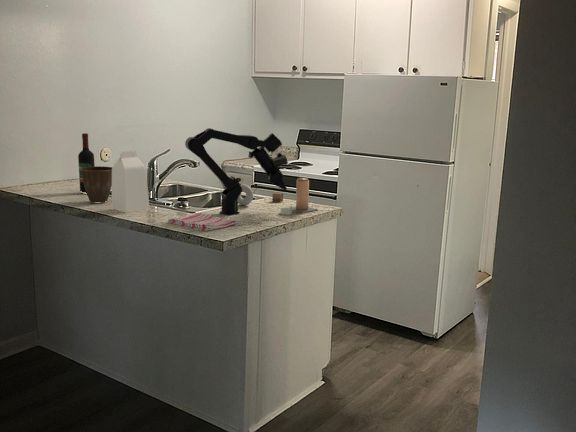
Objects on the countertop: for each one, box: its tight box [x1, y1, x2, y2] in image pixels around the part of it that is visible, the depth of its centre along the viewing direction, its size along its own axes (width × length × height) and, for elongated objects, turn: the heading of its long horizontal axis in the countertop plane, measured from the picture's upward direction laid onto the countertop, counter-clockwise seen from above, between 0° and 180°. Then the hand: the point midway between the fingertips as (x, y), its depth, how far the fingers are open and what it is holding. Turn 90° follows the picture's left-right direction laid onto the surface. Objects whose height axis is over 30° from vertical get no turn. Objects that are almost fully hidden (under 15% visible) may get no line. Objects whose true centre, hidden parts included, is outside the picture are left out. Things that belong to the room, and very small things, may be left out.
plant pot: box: [81, 166, 113, 203], centre depth 282 cm, size 15×15×16 cm
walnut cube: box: [271, 192, 284, 203], centre depth 294 cm, size 4×4×4 cm
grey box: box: [280, 205, 293, 215], centre depth 267 cm, size 6×4×3 cm, turn 170°
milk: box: [111, 150, 150, 213], centre depth 266 cm, size 12×12×26 cm
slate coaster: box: [292, 206, 319, 214], centre depth 274 cm, size 10×10×1 cm
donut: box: [237, 183, 254, 207], centre depth 281 cm, size 10×4×10 cm, turn 64°
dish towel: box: [167, 212, 237, 232], centre depth 243 cm, size 17×23×4 cm
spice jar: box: [295, 177, 310, 210], centre depth 273 cm, size 6×6×14 cm
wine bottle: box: [77, 132, 96, 192], centre depth 304 cm, size 8×8×30 cm
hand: (284, 186), depth 270 cm, fingers open, 9 cm apart
